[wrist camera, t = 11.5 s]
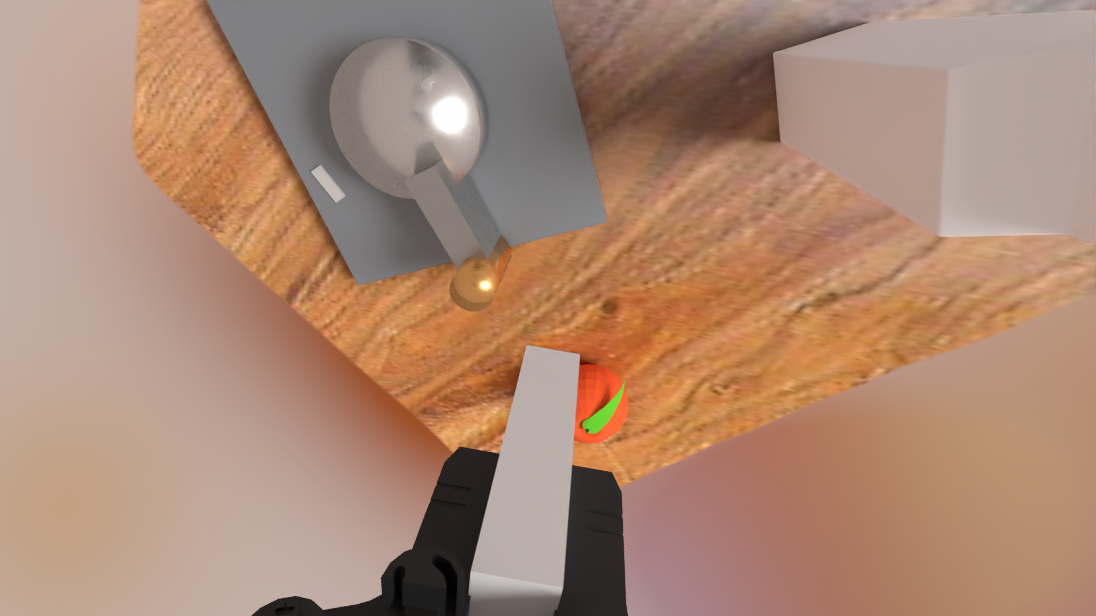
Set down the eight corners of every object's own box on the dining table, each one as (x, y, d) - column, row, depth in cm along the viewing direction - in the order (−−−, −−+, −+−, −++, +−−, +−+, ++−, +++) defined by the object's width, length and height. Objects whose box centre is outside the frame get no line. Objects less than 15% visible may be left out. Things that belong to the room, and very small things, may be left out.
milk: (779, 142, 35) (990, 277, 16) (771, 50, 32) (1013, 78, 13) (874, 116, 33) (1232, 229, 14) (873, 18, 31) (1315, -5, 12)
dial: (321, 81, 34) (257, 91, 28) (440, 7, 31) (399, 0, 25) (450, 287, 41) (422, 333, 35) (557, 243, 38) (548, 284, 32)
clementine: (594, 328, 44) (592, 376, 37) (649, 371, 45) (657, 424, 39) (538, 380, 47) (529, 432, 41) (592, 418, 49) (591, 474, 43)
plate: (220, -1, 34) (202, -3, 32) (518, -132, 29) (513, -141, 27) (365, 278, 43) (357, 286, 42) (607, 215, 38) (607, 222, 37)
